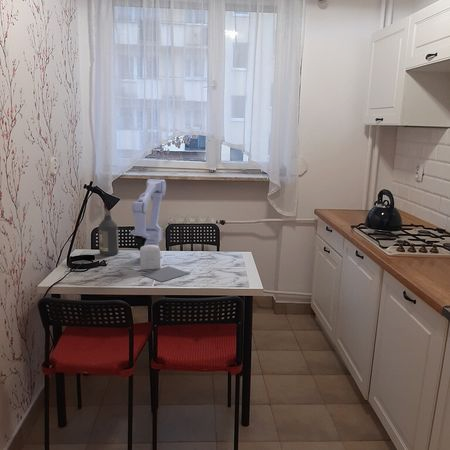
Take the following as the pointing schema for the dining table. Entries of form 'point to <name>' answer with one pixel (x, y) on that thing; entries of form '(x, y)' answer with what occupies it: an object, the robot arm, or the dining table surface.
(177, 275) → the mat
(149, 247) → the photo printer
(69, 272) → the dining table surface
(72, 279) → the dining table surface
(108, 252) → the liquor
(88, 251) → the dining table surface
